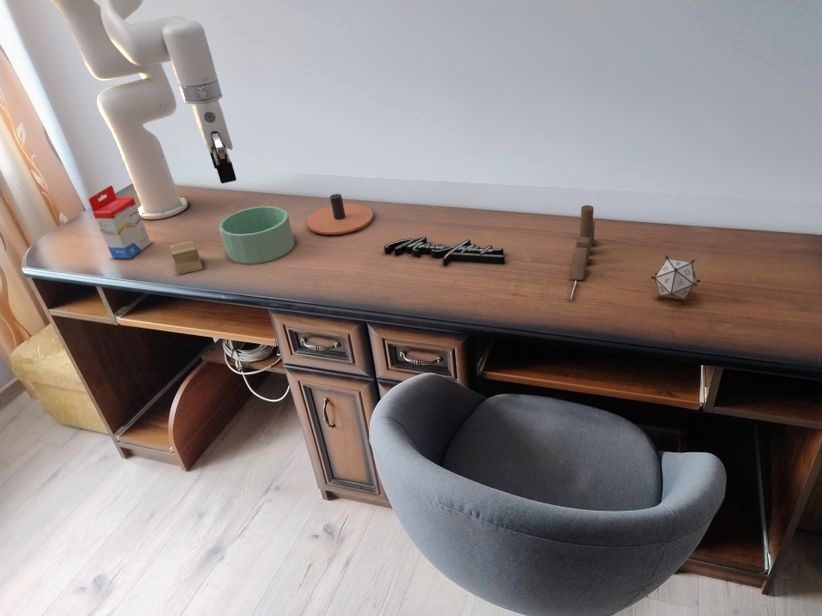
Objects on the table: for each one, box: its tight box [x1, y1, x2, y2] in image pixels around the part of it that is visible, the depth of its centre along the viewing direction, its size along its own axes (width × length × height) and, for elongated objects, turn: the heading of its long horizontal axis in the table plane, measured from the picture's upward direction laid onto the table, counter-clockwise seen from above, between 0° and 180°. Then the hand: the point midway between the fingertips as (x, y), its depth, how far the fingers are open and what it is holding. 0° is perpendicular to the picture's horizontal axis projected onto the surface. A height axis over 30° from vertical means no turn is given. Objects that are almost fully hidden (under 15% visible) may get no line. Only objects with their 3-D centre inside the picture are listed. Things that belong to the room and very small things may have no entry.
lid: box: [306, 193, 374, 235], centre depth 154 cm, size 16×16×7 cm
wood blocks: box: [570, 204, 596, 301], centre depth 127 cm, size 25×3×10 cm, turn 164°
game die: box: [650, 254, 701, 305], centre depth 117 cm, size 9×8×10 cm
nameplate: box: [383, 236, 506, 267], centre depth 138 cm, size 28×2×10 cm
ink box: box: [88, 185, 152, 260], centre depth 146 cm, size 8×5×15 cm, turn 168°
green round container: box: [218, 205, 295, 265], centre depth 145 cm, size 15×15×7 cm
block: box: [170, 239, 204, 275], centre depth 140 cm, size 5×5×5 cm
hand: (225, 174), depth 136 cm, fingers open, 9 cm apart
